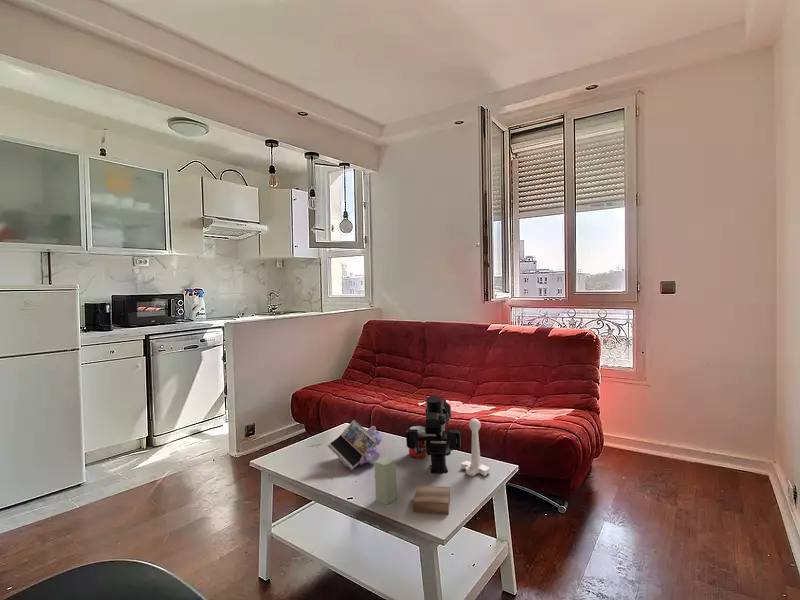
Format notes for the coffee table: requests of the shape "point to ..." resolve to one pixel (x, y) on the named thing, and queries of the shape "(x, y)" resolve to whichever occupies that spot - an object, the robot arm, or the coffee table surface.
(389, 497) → the post
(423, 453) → the canned food
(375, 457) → the colorful box
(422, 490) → the base block
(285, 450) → the coffee table surface
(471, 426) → the joystick
